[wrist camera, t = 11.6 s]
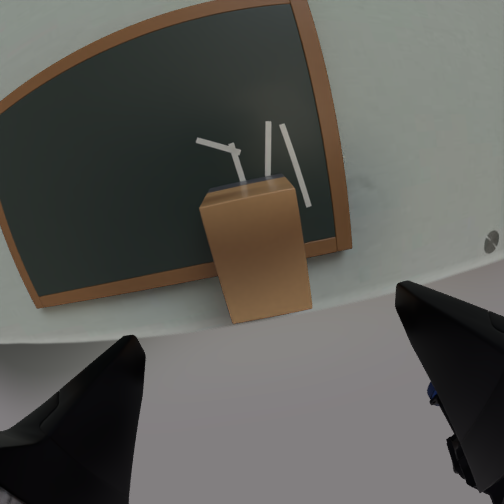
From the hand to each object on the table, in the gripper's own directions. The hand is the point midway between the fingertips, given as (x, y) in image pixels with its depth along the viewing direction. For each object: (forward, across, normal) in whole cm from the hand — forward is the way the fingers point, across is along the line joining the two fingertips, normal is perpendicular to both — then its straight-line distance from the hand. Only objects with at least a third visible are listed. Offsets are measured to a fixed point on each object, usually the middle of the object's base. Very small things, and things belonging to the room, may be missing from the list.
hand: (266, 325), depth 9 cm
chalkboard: (+9, +6, -6) cm, 13 cm away
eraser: (+8, 0, 0) cm, 8 cm away
